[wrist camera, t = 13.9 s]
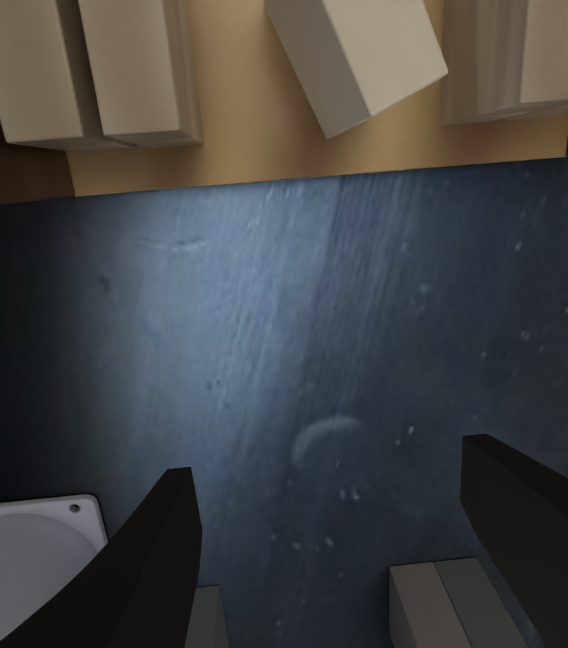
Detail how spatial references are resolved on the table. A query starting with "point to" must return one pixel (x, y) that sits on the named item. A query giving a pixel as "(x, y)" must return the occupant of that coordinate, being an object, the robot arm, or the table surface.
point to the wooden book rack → (254, 97)
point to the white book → (357, 55)
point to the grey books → (405, 610)
